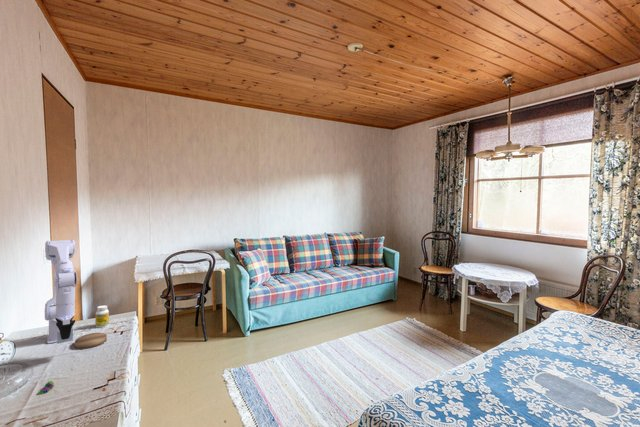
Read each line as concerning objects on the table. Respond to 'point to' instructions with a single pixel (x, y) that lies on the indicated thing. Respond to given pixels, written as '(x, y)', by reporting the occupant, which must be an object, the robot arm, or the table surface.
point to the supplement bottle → (102, 316)
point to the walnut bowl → (90, 340)
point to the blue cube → (64, 339)
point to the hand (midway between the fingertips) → (65, 336)
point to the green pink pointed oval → (46, 388)
